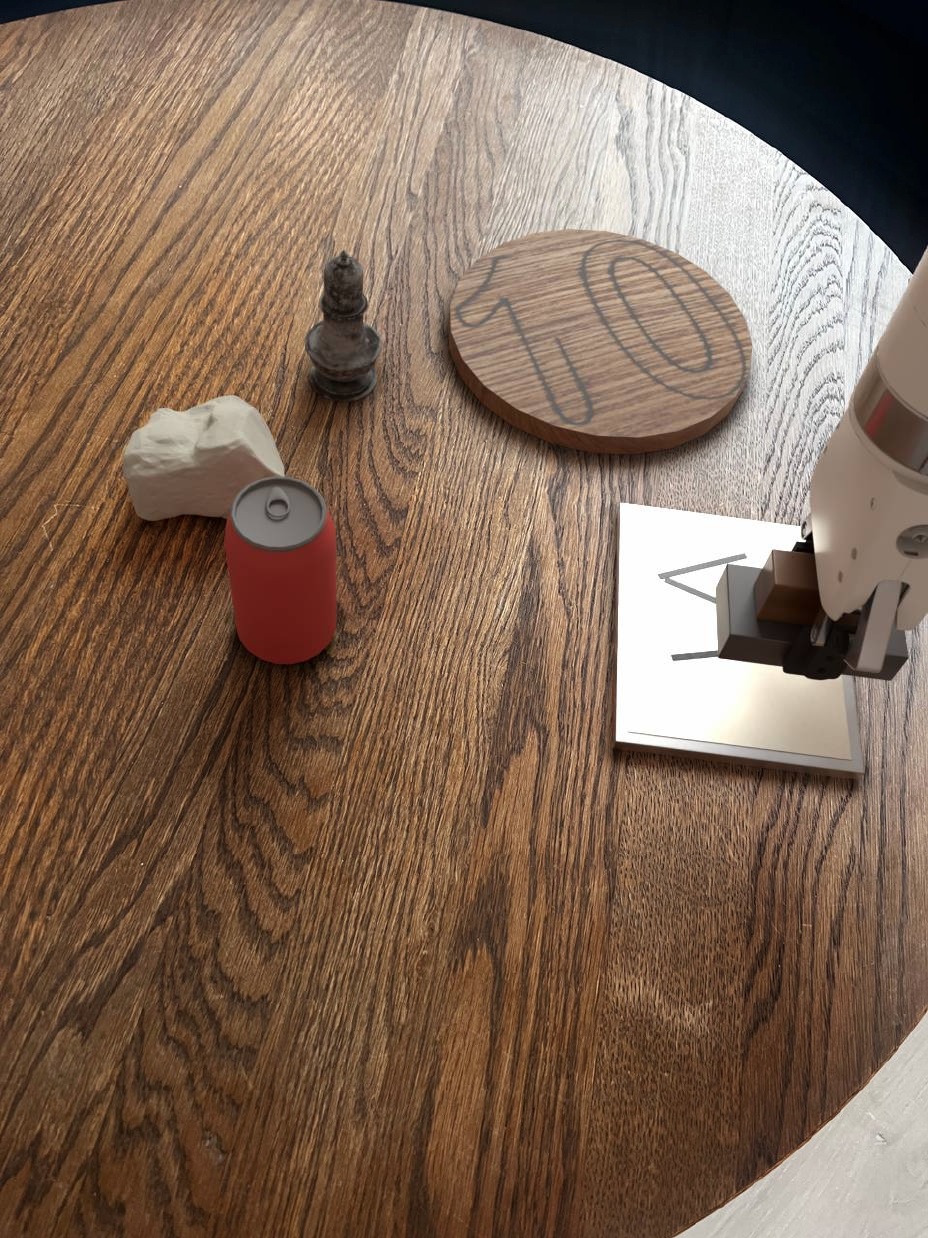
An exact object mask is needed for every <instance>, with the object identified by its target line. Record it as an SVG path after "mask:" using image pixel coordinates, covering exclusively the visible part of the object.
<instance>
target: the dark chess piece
mask: <svg viewBox="0 0 928 1238" xmlns="http://www.w3.org/2000/svg"><path fill="white" fill-rule="evenodd" d="M318 307H319V310H320V311H321V313H323V314H322V315H323V317H322V318H323V319H322V320H321V321H319V322H317V323H316V324H314V325H312V326H311V328H310V329H309V330H308V331H307V333H306V335H305V337H304V349H305V351H306V354H307V356H308V357H309V359H310V361H311V363H312V366H311V369H310V371H309V383H310V385H311V388H312V389H313V390H314V391H315V392H316V393H317V394H318V395H320V396H321V397H322V398H325V399H328V400H329V401H335V402H339V403H341V402H342V403H343V402H344V403H348V402H356V401H358V400H361V399H364V398H365V397H367V396H368V395H370V394H371V393H372V392H373V390H374V389H375V388H376V385H377V382H378V379H377V378H378V374H377V373H376V369H375V368H374V366H375V364H376V361H377V359H378V358H379V357H380V355H381V352H382V349H383V341H382V338H381V335H380V334H379V332H378V331H377V330H376V329H375V327H373V326H371V325H369V324H368V323H367V322H365V321H364V314H365V313H366V312H367V311H368V308H369V301H368V298H367V297H366V295H365V294H364V269H363V266H362V264H361V263H360V261H359V260H358V259H356V258H355V257H353V256H349V253H348V252H347V251H346V250H342V251H340V253H339V254H338V255H337V256H335V257H333V258H331V259H330V260H328V261H327V263H326V264H325V266H324V269H323V294H321V296H320V298H319V300H318Z"/></svg>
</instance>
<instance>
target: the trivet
mask: <svg viewBox="0 0 928 1238" xmlns="http://www.w3.org/2000/svg"><path fill="white" fill-rule="evenodd" d="M447 322H448V323H447V326H448V327H447V329H448V351H449V353H450V355H451V358H452V360H453V362H454V365H455V368H456V370H457V372H458V374H459V377H460V379H461V380H462V381H463V383H464V384H465V385H466V386H467V387H468V388H469V390H470V391H471V392H472V393H473V394H474V396H475V397H476V398H477V399H478V401H479V402H480V403H481V404H482V405H483V406H485V407H486V408H487V409H489V410H490V411H491V412H493V413H494V414H496V415H497V416H498V417H500V418H501V419H502V420H504V421H505V422H507V423H508V424H509V425H511V426H512V427H514V428H516V429H518V430H520V431H523V432H524V433H527V434H529V435H531V436H534V437H536V438H538V439H541V440H542V441H544V442H547V443H550V444H553V445H557V446H559V447H564V448H565V447H566V448H569V449H575V450H577V451H578V450H579V451H582V452H586V453H589V454H609V455H639V454H640V455H641V454H646V453H651V452H659V451H664V450H669V449H674V448H676V447H679V446H681V445H683V444H685V443H689V442H690V441H692V440H695V439H698V438H700V437H702V436H705V435H706V434H707V433H708V432H710V431H711V430H712V429H713V428H715V426H717V425H718V424H719V423H720V422H721V421H723V420H724V419H725V418H726V417H728V415H729V414H730V413H731V411H732V409H733V408H734V406H735V404H736V402H737V401H738V399H739V398H740V395H741V394H742V392H743V390H744V387H745V385H746V382H747V380H748V377H749V374H750V370H751V362H752V355H753V354H752V353H753V342H752V338H751V335H750V332H749V326H748V323H747V319H746V317H745V316H744V314H743V313H742V310H741V309H740V307H738V305H737V303H736V302H735V300H734V298H733V297H732V295H731V294H730V293H729V292H728V291H727V290H726V289H725V288H724V287H723V286H722V285H721V284H720V283H719V282H717V280H716V279H714V278H713V277H712V276H711V274H710V273H708V271H706V270H704V269H703V268H701V267H700V266H698V265H697V264H695V263H693V262H691V261H690V260H689V259H687V258H685V257H683V256H682V255H680V254H679V253H677V252H676V251H673V250H670V249H667V248H665V247H663V246H660V245H658V244H655V243H652V242H651V241H648V240H645V239H643V238H639V237H634V236H630V235H625V234H620V233H617V232H612V231H607V230H592V229H577V228H576V229H575V228H567V229H566V228H565V229H558V230H557V229H556V230H548V231H541V232H533V233H530V234H527V235H524V236H521V237H518V238H515V239H511V240H509V241H506V242H503V243H500V244H499V245H497V247H494V248H493V249H492V250H489V251H488V252H486V253H485V254H483V255H481V256H480V257H478V258H477V259H476V260H475V261H474V262H473V263H472V265H470V266H469V268H468V269H467V271H466V272H464V274H463V275H462V276H461V277H460V278H459V279H458V282H457V285H456V287H455V290H454V293H453V296H452V298H451V301H450V304H449V313H448V321H447Z"/></svg>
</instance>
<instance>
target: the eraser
mask: <svg viewBox="0 0 928 1238" xmlns="http://www.w3.org/2000/svg"><path fill="white" fill-rule="evenodd" d="M715 596H716V622H717V647H718V658H719V659H726V660H734V661H741V662H749V663H757V664H764V665H772V666H780V667H782V662H783V660H784V658H785V657H786V655H787V654H788V652H789V650H790V649H791V647H792V645H793V644H794V642H795V640H796V639H797V637H798V635H799V634H800V632H801V631H802V629H803V627H804V626H807V625H813V624H814V621H815V619H816V616H817V614H818V611H819V609H820V606H821V604H822V603H821V599H820V593H819V585H818V577H817V569H816V559H815V554H809V553H801V552H794V551H786V550H779V549H772V550H771V552H770V554H769V556H768V558H767V560H766V562H765V564H764V566H763V568H759V567H751V566H744V565H736V564H726V566H725V569H724V571H723V573H722V575H721V577H720V579H719V581H718V584H717V586H716V588H715ZM842 615H843V617H840V618H839V619H838V620H837V621H835V622H834V624H841V625H849V626H853V627H856V625H857V622H858V620H859V618H860V615H855V614H848V613H843V614H842ZM909 659H910V656H909V650H908V642H907V636H906V630H896V626H895V619H894V622H893V626H892V630H891V634H890V638H889V642H888V646H887V650H886V654H885V658H884V662H883V666H882V669H881V671H880V672H879V673H872V672H864V671H856V670H852V668H851V667H850V666H849V665H847V667H846V668H845V670H844V671H843V673H842V674H841V675H849V676H853V677H856V678H857V677H858V678H865V679H872V680H880V681H888V682H891V681H892V680H893V679H894V678H895V677H896V675H897V674H898V673H899V671H901V669H902V668H903V667H904V666H905V664H906V662H908V660H909Z"/></svg>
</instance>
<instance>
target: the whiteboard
mask: <svg viewBox="0 0 928 1238" xmlns="http://www.w3.org/2000/svg"><path fill="white" fill-rule="evenodd" d="M616 522H617V525H616V562H615V564H616V567H615V570H616V571H615V609H614V610H615V611H614V612H615V613H614V614H615V615H614V657H613V658H614V660H613V662H614V663H613V700H612V701H613V703H612V704H613V707H612V746H611V748H612V749H614V750H621V751H629V752H637V753H645V754H653V755H659V756H660V755H661V756H668V757H674V758H675V757H676V758H684V759H692V760H699V761H708V762H715V763H722V764H723V763H724V764H731V765H739V766H746V767H753V768H754V767H755V768H761V769H762V768H763V769H769V770H770V769H771V770H778V771H785V772H792V773H793V772H794V773H800V774H801V773H802V774H810V775H816V776H817V775H818V776H824V777H833V778H838V779H848V780H855V781H859V780H860V779H861V778H862V777H863V776H864V774H865V767H864V766H865V765H864V758H863V749H862V741H861V733H860V727H859V725H860V724H859V716H858V709H857V701H856V692H855V684H854V676H849V675H840V677H839V678H837V679H827V680H813V679H808V678H806V677H805V676H801V675H793V674H787V673H784V672H783V667H780V666H772V665H764V664H757V663H749V662H741V661H734V660H726V659H719V658H718V647H717V622H716V596H715V588H716V586H717V584H718V581H719V579H720V577H721V575H722V573H723V571H724V569H725V566H726V564H736V565H744V566H751V567H759V568H763V566H764V564H765V562H766V560H767V558H768V556H769V554H770V552H771V550H772V549H779V550H786V551H791V550H792V548H793V547H794V545H795V543H796V541H800V542H805V541H806V540H801V537H800V531H801V526H802V525H800V526H799V525H794V524H793V525H792V524H786V523H778V522H769V521H763V520H755V519H747V518H740V517H732V516H726V515H719V514H709V513H701V512H694V511H688V510H687V511H686V510H680V509H672V508H665V507H658V506H657V507H656V506H649V505H641V504H635V503H626V502H620V503H619V505H618V509H617V519H616Z"/></svg>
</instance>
